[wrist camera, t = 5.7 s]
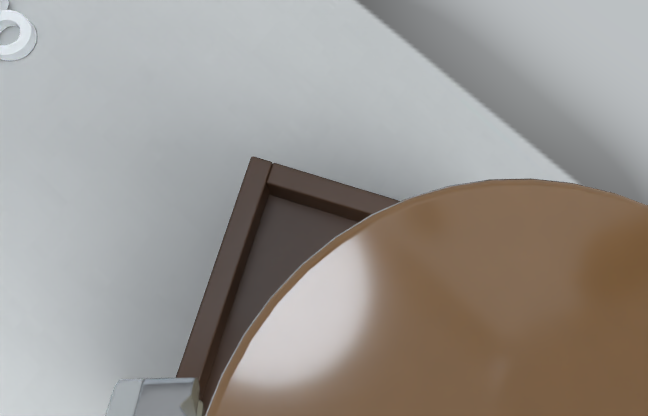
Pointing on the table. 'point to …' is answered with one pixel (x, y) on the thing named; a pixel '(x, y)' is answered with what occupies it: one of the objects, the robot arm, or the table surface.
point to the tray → (265, 255)
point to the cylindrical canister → (459, 312)
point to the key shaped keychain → (26, 39)
